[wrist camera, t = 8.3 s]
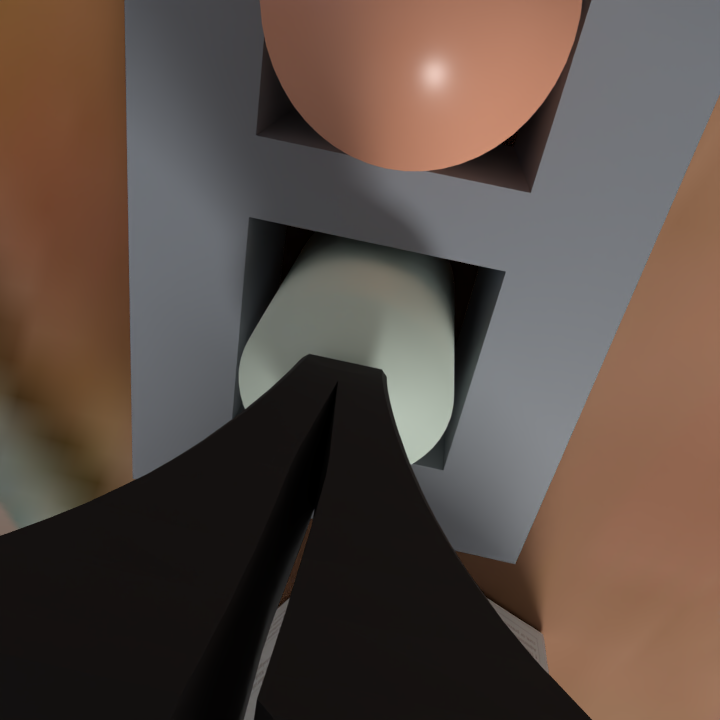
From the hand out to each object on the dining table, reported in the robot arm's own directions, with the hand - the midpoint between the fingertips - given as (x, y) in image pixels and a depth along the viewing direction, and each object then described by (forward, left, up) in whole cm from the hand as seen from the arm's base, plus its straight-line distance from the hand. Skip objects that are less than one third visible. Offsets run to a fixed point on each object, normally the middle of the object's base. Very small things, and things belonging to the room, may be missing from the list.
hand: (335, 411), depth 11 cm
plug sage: (0, 0, -5) cm, 5 cm away
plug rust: (0, +6, -5) cm, 8 cm away
